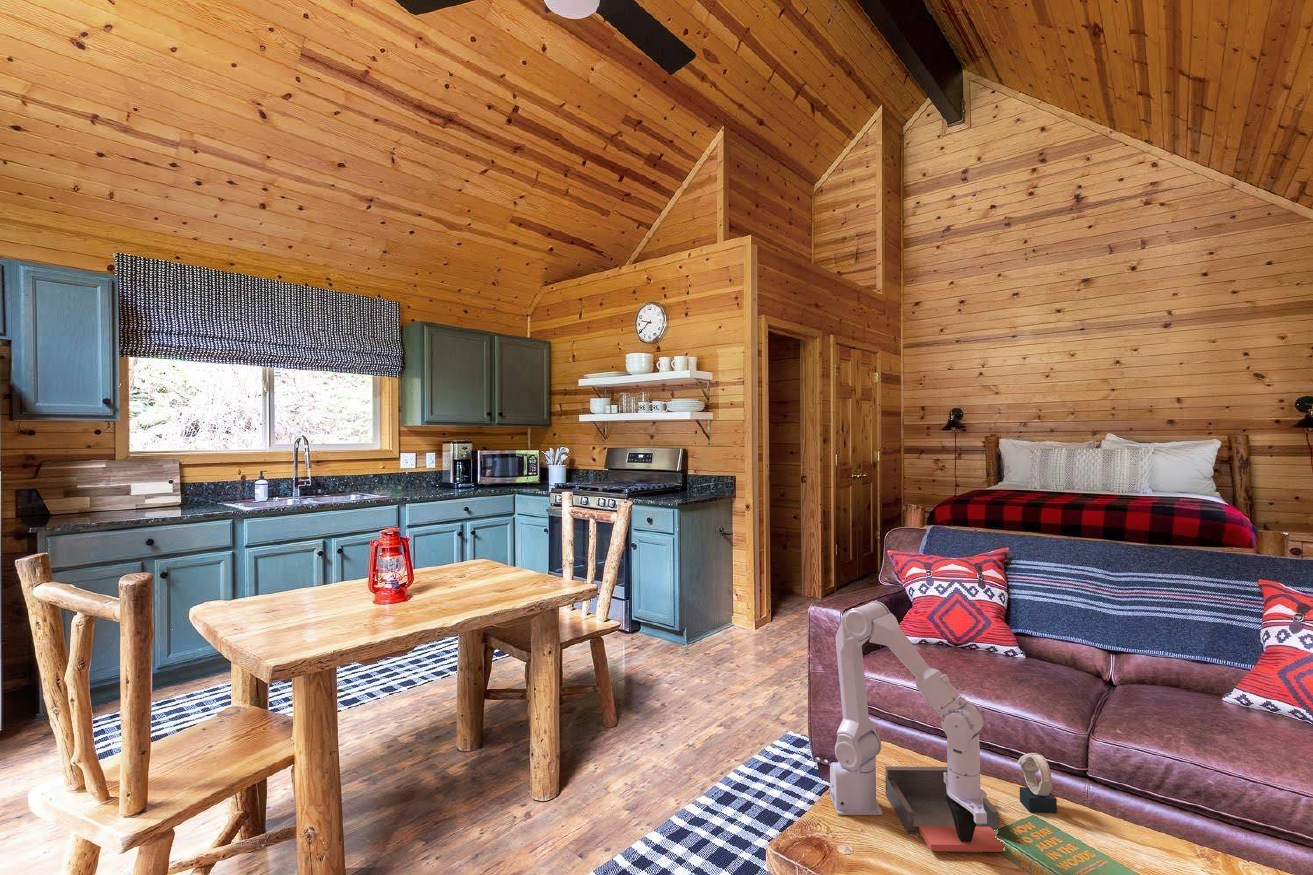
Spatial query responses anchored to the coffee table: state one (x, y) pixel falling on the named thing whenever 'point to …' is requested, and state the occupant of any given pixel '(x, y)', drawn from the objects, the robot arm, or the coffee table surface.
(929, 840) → the panel
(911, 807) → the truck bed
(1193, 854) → the coffee table surface
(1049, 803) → the ring sculpture
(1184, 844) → the coffee table surface
